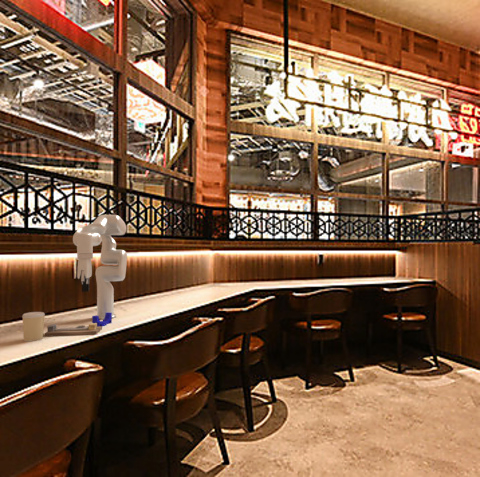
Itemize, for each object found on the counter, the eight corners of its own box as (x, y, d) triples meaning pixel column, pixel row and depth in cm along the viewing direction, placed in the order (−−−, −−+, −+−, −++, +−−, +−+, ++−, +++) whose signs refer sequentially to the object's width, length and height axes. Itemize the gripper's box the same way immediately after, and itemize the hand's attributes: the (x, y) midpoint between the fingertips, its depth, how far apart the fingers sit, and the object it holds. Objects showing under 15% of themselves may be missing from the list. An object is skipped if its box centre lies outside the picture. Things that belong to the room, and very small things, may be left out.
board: (53, 330, 190) (53, 323, 190) (102, 329, 193) (102, 321, 193) (44, 336, 178) (44, 328, 178) (96, 334, 181) (96, 326, 181)
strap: (54, 331, 182) (54, 328, 182) (57, 329, 187) (57, 326, 187) (87, 329, 184) (87, 326, 184) (89, 327, 189) (89, 324, 189)
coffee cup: (48, 336, 178) (48, 311, 178) (38, 341, 168) (38, 315, 169) (28, 336, 177) (29, 311, 178) (17, 341, 168) (17, 315, 168)
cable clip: (98, 327, 198) (98, 316, 198) (92, 327, 199) (92, 316, 199) (113, 323, 209) (113, 312, 209) (107, 322, 210) (107, 312, 211)
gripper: (81, 255, 199) (82, 289, 200) (72, 257, 185) (73, 294, 185) (96, 255, 200) (96, 288, 201) (88, 257, 186) (89, 293, 186)
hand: (85, 291), depth 193 cm, fingers closed
